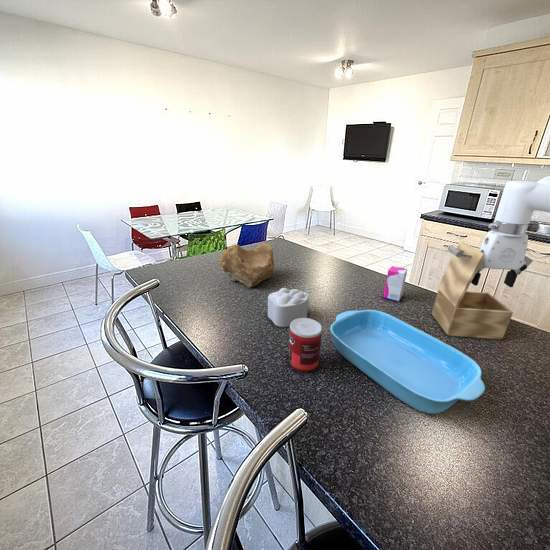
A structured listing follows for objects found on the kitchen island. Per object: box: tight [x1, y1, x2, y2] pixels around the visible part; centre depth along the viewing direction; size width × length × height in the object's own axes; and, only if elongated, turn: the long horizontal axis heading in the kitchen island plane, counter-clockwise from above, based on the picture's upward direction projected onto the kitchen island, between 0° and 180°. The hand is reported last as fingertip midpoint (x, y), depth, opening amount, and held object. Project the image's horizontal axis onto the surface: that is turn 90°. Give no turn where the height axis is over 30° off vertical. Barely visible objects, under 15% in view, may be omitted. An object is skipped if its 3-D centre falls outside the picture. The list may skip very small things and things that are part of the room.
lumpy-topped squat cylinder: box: [267, 287, 310, 328], centre depth 94 cm, size 10×13×9 cm
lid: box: [437, 240, 485, 307], centre depth 86 cm, size 16×13×5 cm
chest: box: [431, 289, 514, 340], centre depth 91 cm, size 16×13×9 cm
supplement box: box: [382, 265, 408, 303], centre depth 108 cm, size 6×6×12 cm
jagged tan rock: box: [219, 242, 275, 289], centre depth 117 cm, size 23×17×15 cm
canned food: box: [287, 317, 323, 372], centre depth 73 cm, size 8×8×11 cm
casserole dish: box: [329, 309, 486, 415], centre depth 73 cm, size 37×22×7 cm, turn 35°
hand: (490, 284), depth 87 cm, fingers open, 9 cm apart
